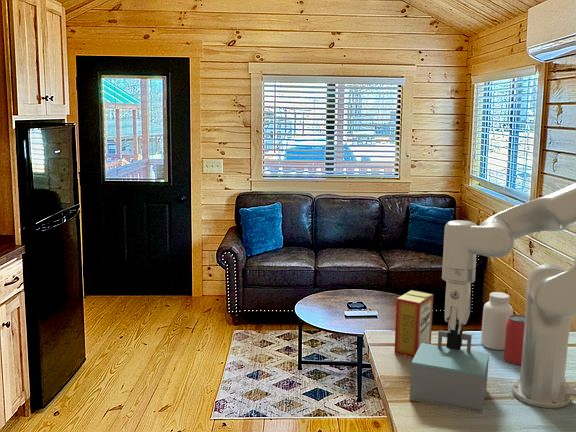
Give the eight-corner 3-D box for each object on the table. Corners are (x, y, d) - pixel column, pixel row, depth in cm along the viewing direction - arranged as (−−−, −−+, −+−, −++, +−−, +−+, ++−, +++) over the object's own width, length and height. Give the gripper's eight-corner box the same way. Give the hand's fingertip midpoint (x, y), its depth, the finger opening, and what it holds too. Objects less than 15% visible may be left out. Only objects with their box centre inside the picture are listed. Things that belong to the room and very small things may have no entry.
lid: (489, 355, 144) (490, 336, 143) (484, 376, 133) (485, 355, 132) (421, 345, 150) (422, 326, 149) (411, 364, 139) (412, 344, 138)
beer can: (504, 364, 160) (508, 321, 158) (502, 354, 166) (505, 312, 164) (531, 367, 158) (535, 323, 156) (528, 357, 165) (531, 315, 162)
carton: (486, 390, 145) (488, 356, 144) (481, 413, 134) (484, 377, 133) (419, 378, 151) (421, 345, 150) (409, 399, 140) (411, 364, 139)
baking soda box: (416, 358, 163) (419, 301, 160) (394, 352, 167) (396, 297, 164) (430, 347, 171) (433, 293, 168) (409, 342, 174) (411, 288, 171)
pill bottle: (512, 351, 168) (516, 300, 165) (482, 349, 170) (485, 298, 167) (508, 341, 176) (512, 291, 173) (479, 338, 177) (482, 289, 174)
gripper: (471, 284, 134) (466, 362, 137) (478, 266, 148) (473, 338, 152) (437, 280, 137) (432, 356, 140) (447, 263, 151) (443, 333, 154)
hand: (454, 346), depth 146 cm, fingers closed
